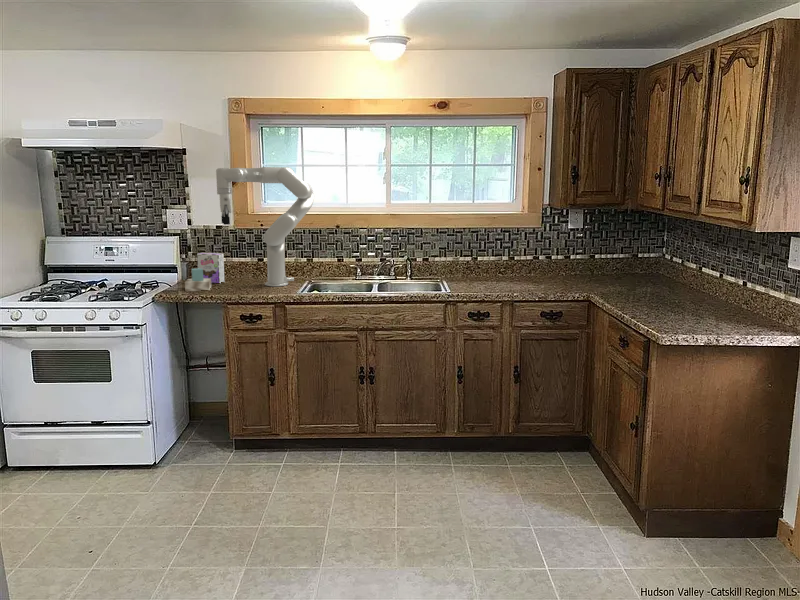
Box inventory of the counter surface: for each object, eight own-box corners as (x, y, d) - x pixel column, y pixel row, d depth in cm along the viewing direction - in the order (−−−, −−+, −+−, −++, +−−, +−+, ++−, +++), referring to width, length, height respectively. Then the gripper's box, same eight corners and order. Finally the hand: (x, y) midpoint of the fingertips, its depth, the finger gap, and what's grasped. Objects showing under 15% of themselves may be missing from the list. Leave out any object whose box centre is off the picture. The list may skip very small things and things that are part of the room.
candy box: (197, 282, 365) (196, 253, 362) (203, 281, 370) (202, 252, 367) (219, 283, 361) (218, 254, 358) (225, 282, 366) (223, 253, 363)
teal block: (201, 279, 346) (201, 268, 345) (203, 280, 342) (202, 269, 341) (192, 279, 344) (191, 268, 343) (193, 281, 340) (193, 269, 339)
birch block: (211, 287, 351) (211, 278, 350) (209, 291, 340) (208, 281, 339) (188, 288, 349) (187, 278, 348) (185, 291, 337) (184, 282, 336)
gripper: (233, 192, 341) (234, 224, 344) (229, 191, 357) (231, 222, 360) (218, 192, 338) (220, 225, 342) (215, 191, 354) (217, 222, 358)
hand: (225, 223), depth 351 cm, fingers open, 9 cm apart
